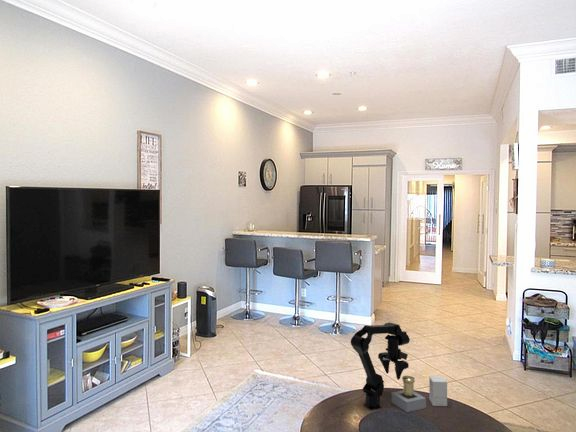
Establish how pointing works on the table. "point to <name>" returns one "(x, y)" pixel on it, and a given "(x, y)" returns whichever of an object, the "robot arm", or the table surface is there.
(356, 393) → the table surface
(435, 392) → the supplement box
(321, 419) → the table surface
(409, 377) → the brass bushing
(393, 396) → the block
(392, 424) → the table surface
